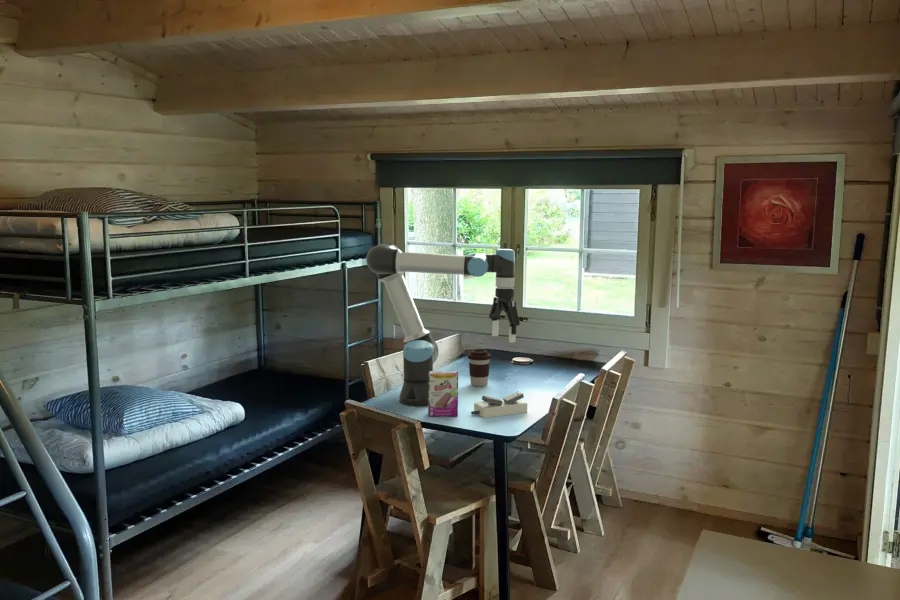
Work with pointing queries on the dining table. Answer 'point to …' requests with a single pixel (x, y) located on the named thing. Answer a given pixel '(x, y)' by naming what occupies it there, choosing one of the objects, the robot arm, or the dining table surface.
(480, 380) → the coffee cup
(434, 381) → the candy bar box
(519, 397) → the rocker
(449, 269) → the robot arm
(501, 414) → the power strip
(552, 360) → the dining table surface
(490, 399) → the rocker
